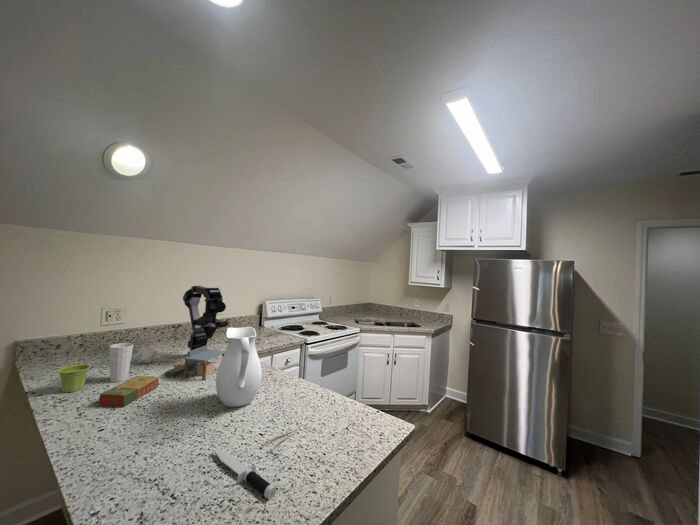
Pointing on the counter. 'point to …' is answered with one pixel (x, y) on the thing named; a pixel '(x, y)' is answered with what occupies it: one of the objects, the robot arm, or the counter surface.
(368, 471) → the counter surface
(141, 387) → the carton
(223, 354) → the frame
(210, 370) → the block
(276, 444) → the tweezers
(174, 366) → the orange button
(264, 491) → the knife
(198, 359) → the lid
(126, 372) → the cup
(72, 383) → the plant pot
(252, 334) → the pitcher
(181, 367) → the console
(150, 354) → the die
